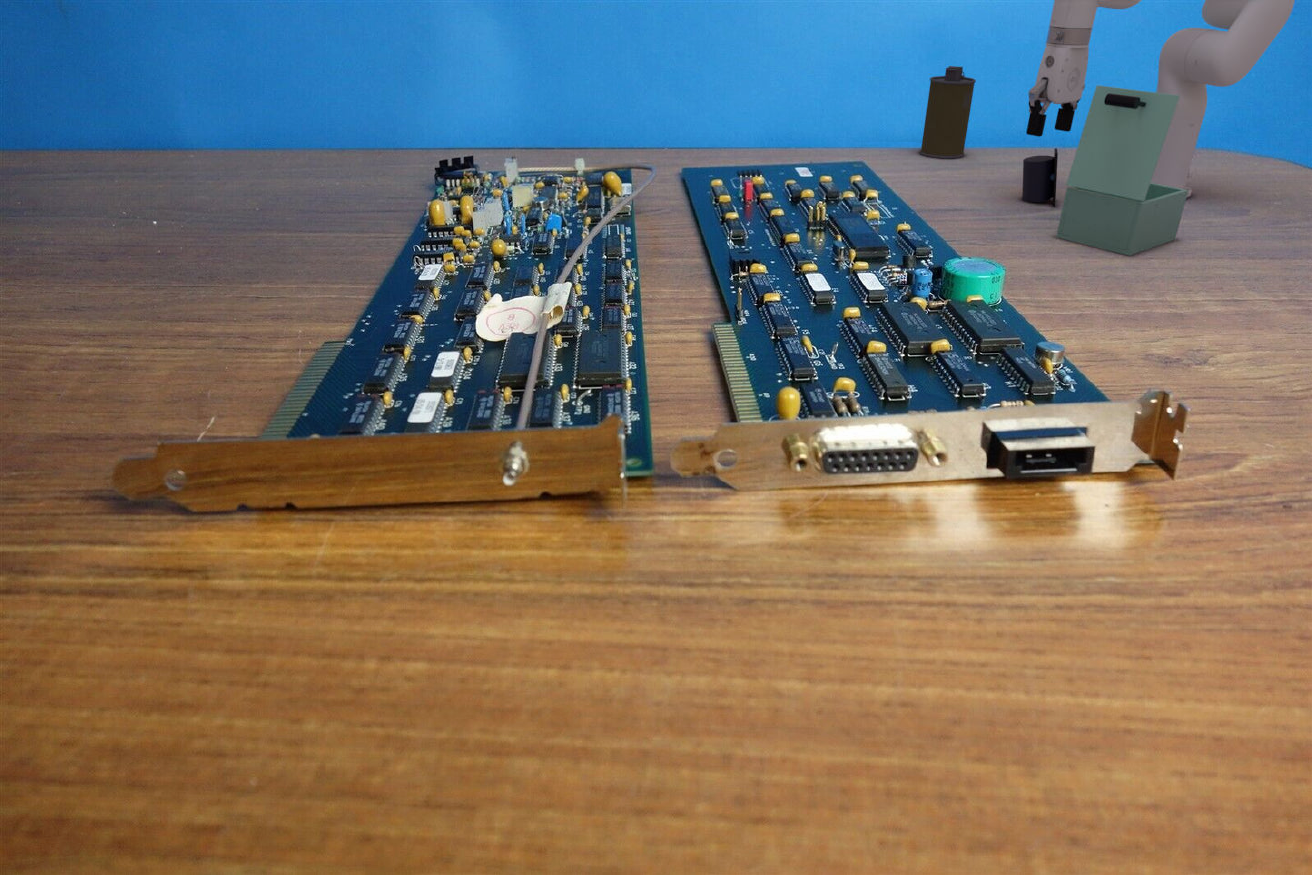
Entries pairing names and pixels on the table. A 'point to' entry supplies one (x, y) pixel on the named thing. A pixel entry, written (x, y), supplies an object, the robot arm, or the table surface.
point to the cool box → (1122, 218)
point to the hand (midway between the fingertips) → (1048, 132)
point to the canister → (947, 114)
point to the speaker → (1040, 178)
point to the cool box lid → (1122, 141)
